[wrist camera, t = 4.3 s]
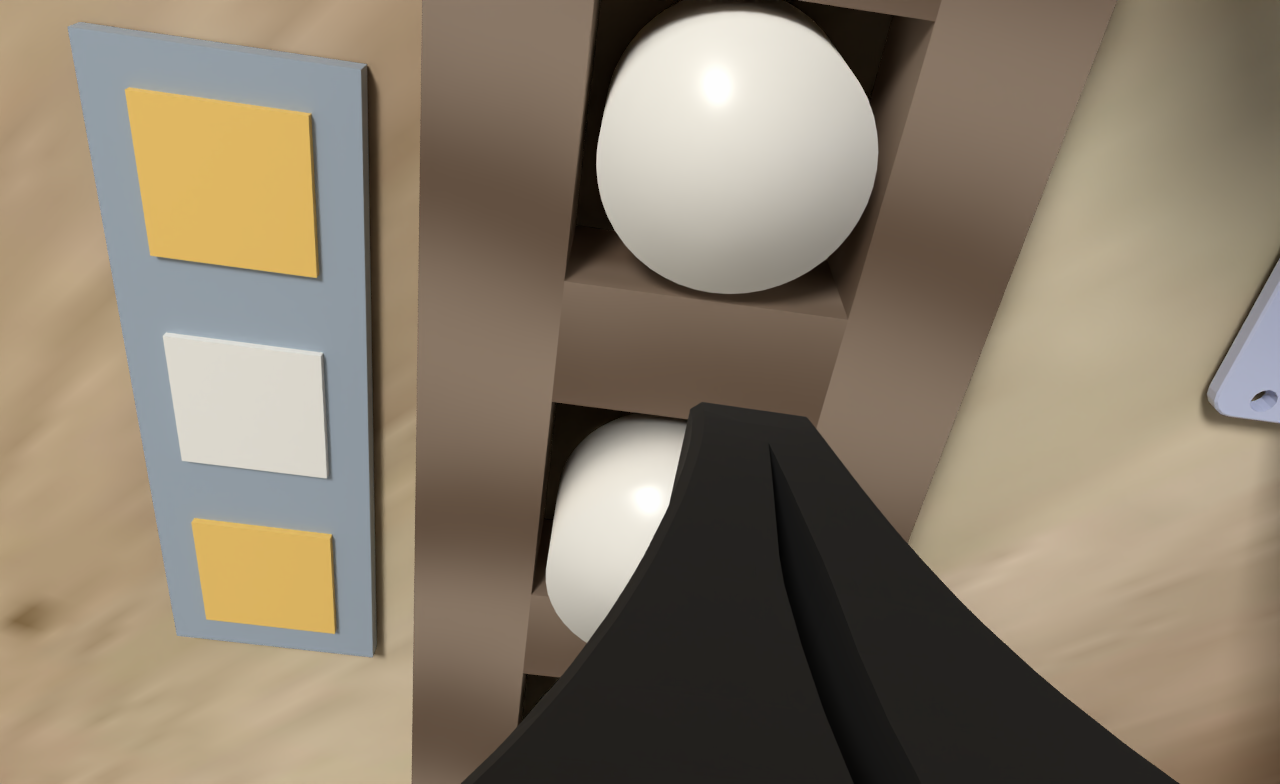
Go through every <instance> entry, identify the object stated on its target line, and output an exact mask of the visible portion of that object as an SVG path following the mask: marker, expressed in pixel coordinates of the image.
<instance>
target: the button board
mask: <svg viewBox="0 0 1280 784" xmlns="http://www.w3.org/2000/svg"><path fill="white" fill-rule="evenodd" d="M800 1H806V2H813V3H819V4H826V5H832V6H839V7H845V8H852V9H858V10H865V11H871V12H878V13H884V14H891V15H893V17H892V21H891V25H890V28H889V32H888V36H887V40H886V43H885V47H884V51H883V54H882V58H881V62H880V66H879V69H878V73H877V77H876V81H875V84H874V88H873V92H872V95H871V99H870V103H869V104H870V106H871V109H872V112H873V115H874V120H875V125H876V130H877V137H878V162H877V172H876V176H875V181H874V186H873V189H872V192H871V195H870V198H869V200H868V203H867V206H866V207H865V209H864V211H863V213H862V215H861V217H860V219H859V221H858V223H857V224H856V226H855V227H854V229H853V230H852V232H851V233H850V235H849V236H848V237H847V238H846V239H845V240H844V242H843V243H842V244H841V245H840V246H839V247H838V249H836V250H835V251H834V252H833V253H832V254H831V255H830V256H829V257H828V259H827V260H824V261H823V262H822V263H820V264H819V265H817V266H816V267H815V268H813V269H812V270H810V271H809V272H807V273H805V274H803V275H802V276H800V277H798V278H796V279H794V280H792V281H789V282H787V283H784V284H782V285H780V286H776V287H773V288H769V289H766V290H762V291H756V292H750V293H739V294H722V293H710V292H705V291H700V290H695V289H692V288H689V287H686V286H683V285H680V284H677V283H675V282H673V281H671V280H669V279H667V278H664V277H663V276H661V275H660V274H658V273H656V272H655V271H653V270H652V269H650V268H649V267H648V266H646V265H645V264H644V263H643V262H641V261H640V260H639V259H638V258H637V257H636V256H635V255H634V254H633V253H632V252H631V251H630V250H629V249H628V248H627V247H626V246H625V244H624V243H623V241H622V240H621V239H620V237H619V236H618V234H617V233H616V232H615V231H612V230H604V229H597V228H590V227H583V226H576V220H577V211H578V202H579V192H580V183H581V174H582V165H583V156H584V147H585V137H586V128H587V119H588V110H589V101H590V92H591V83H592V73H593V64H594V55H595V46H596V37H597V28H598V18H599V9H600V0H422V55H421V130H420V204H419V278H418V353H417V427H416V501H415V576H414V650H413V724H412V784H461V783H462V782H463V781H464V780H465V779H466V778H467V777H468V776H469V775H470V774H471V773H472V772H473V771H474V770H475V769H476V768H477V767H478V766H479V765H481V764H482V763H483V762H484V761H485V760H486V759H487V758H488V757H489V756H490V755H491V754H492V753H493V752H494V751H495V750H496V749H497V748H498V747H499V746H500V745H501V744H502V743H503V742H504V741H505V740H506V738H507V737H508V736H509V735H510V734H511V733H512V732H513V731H514V730H515V729H516V727H517V726H518V725H519V724H520V723H521V722H522V714H523V705H524V696H525V687H526V678H527V674H533V675H542V676H551V677H561V676H562V675H563V674H564V672H565V671H566V670H567V669H568V667H569V666H570V665H571V663H572V662H573V661H574V660H575V658H576V657H577V656H578V654H579V653H580V652H581V650H582V649H583V648H584V646H585V645H586V644H587V643H586V642H585V641H583V640H582V639H580V638H579V637H578V636H577V635H575V634H574V633H573V632H572V631H571V630H570V629H569V628H568V627H567V626H566V625H565V624H564V623H563V622H562V620H561V619H560V617H559V616H558V615H557V613H556V611H555V609H554V608H553V606H552V604H551V601H550V598H549V595H548V592H547V586H546V566H547V559H548V553H549V546H550V540H551V533H552V527H553V520H546V519H544V513H545V504H546V494H547V485H548V476H549V467H550V458H551V449H552V440H553V430H554V421H555V412H556V403H565V404H573V405H581V406H588V407H596V408H604V409H612V410H620V411H627V412H635V413H643V414H651V415H659V416H666V417H674V418H682V419H688V417H689V412H690V409H691V408H693V407H694V406H696V405H698V404H699V403H701V402H706V403H713V404H720V405H727V406H734V407H741V408H748V409H755V410H762V411H769V412H776V413H783V414H790V415H797V416H804V417H807V418H808V419H809V420H810V422H811V423H812V424H813V425H814V426H815V428H816V429H817V430H818V432H819V433H820V434H821V435H822V437H823V438H824V439H825V441H826V442H827V443H828V445H829V446H830V447H831V449H832V450H833V451H834V453H835V454H836V455H837V457H838V458H839V459H840V460H841V462H842V463H843V464H844V466H845V467H846V468H847V470H848V471H849V472H850V473H851V475H852V476H853V477H854V479H855V480H856V481H857V483H858V484H859V485H860V486H861V488H862V489H863V490H864V491H865V493H866V494H867V495H868V496H869V498H870V499H871V500H872V502H873V503H874V504H875V505H876V506H877V508H878V509H879V510H880V511H881V513H882V514H883V515H884V516H885V517H886V519H887V520H888V521H889V522H890V524H891V525H892V526H893V527H894V528H895V529H896V531H897V532H898V533H899V534H900V535H901V537H902V538H903V539H904V540H905V541H906V542H907V543H908V540H909V537H910V535H911V532H912V530H913V527H914V525H915V522H916V519H917V517H918V514H919V512H920V509H921V506H922V504H923V501H924V499H925V496H926V494H927V491H928V488H929V486H930V483H931V481H932V478H933V475H934V473H935V470H936V468H937V465H938V463H939V460H940V457H941V455H942V452H943V450H944V447H945V444H946V442H947V439H948V437H949V434H950V432H951V429H952V426H953V424H954V421H955V419H956V416H957V413H958V411H959V408H960V406H961V403H962V401H963V398H964V395H965V393H966V390H967V388H968V385H969V382H970V380H971V377H972V375H973V372H974V370H975V367H976V364H977V362H978V359H979V357H980V354H981V351H982V349H983V346H984V344H985V341H986V339H987V336H988V333H989V331H990V328H991V326H992V323H993V320H994V318H995V315H996V313H997V310H998V308H999V305H1000V302H1001V300H1002V297H1003V295H1004V292H1005V289H1006V287H1007V284H1008V282H1009V279H1010V277H1011V274H1012V271H1013V269H1014V266H1015V264H1016V261H1017V258H1018V256H1019V253H1020V251H1021V248H1022V246H1023V243H1024V240H1025V238H1026V235H1027V233H1028V230H1029V227H1030V225H1031V222H1032V220H1033V217H1034V215H1035V212H1036V209H1037V207H1038V204H1039V202H1040V199H1041V196H1042V194H1043V191H1044V189H1045V186H1046V184H1047V181H1048V178H1049V176H1050V173H1051V171H1052V168H1053V165H1054V163H1055V160H1056V158H1057V155H1058V153H1059V150H1060V147H1061V145H1062V142H1063V140H1064V137H1065V134H1066V132H1067V129H1068V127H1069V124H1070V121H1071V119H1072V116H1073V114H1074V111H1075V109H1076V106H1077V103H1078V101H1079V98H1080V96H1081V93H1082V90H1083V88H1084V85H1085V83H1086V80H1087V78H1088V75H1089V72H1090V70H1091V67H1092V65H1093V62H1094V59H1095V57H1096V54H1097V52H1098V49H1099V47H1100V44H1101V41H1102V39H1103V36H1104V34H1105V31H1106V28H1107V26H1108V23H1109V21H1110V18H1111V16H1112V13H1113V10H1114V8H1115V5H1116V3H1117V0H800Z"/></svg>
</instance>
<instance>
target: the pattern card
mask: <svg viewBox="0 0 1280 784" xmlns="http://www.w3.org/2000/svg"><path fill="white" fill-rule="evenodd" d="M68 32H69V37H70V43H71V48H72V54H73V60H74V65H75V71H76V76H77V82H78V87H79V93H80V99H81V104H82V110H83V115H84V121H85V126H86V132H87V138H88V143H89V149H90V154H91V160H92V165H93V171H94V176H95V182H96V188H97V193H98V199H99V204H100V210H101V215H102V221H103V227H104V232H105V238H106V243H107V249H108V254H109V260H110V266H111V271H112V277H113V282H114V288H115V293H116V299H117V304H118V310H119V316H120V321H121V327H122V332H123V338H124V343H125V349H126V355H127V360H128V366H129V371H130V377H131V382H132V388H133V394H134V399H135V405H136V410H137V416H138V421H139V427H140V432H141V438H142V444H143V449H144V455H145V460H146V466H147V471H148V477H149V483H150V488H151V494H152V499H153V505H154V510H155V516H156V522H157V527H158V533H159V538H160V544H161V549H162V555H163V560H164V566H165V572H166V577H167V583H168V588H169V594H170V599H171V605H172V611H173V616H174V622H175V627H176V633H177V636H185V637H194V638H203V639H212V640H221V641H230V642H239V643H248V644H257V645H266V646H275V647H284V648H293V649H302V650H311V651H320V652H329V653H338V654H347V655H355V656H364V657H373V655H374V652H375V649H376V647H377V628H376V569H375V509H374V450H373V390H372V331H371V271H370V211H369V152H368V92H367V64H363V63H356V62H349V61H342V60H335V59H329V58H322V57H315V56H308V55H301V54H294V53H288V52H281V51H274V50H267V49H260V48H254V47H247V46H240V45H233V44H226V43H219V42H213V41H206V40H199V39H192V38H185V37H179V36H172V35H165V34H158V33H151V32H145V31H138V30H131V29H124V28H117V27H110V26H104V25H97V24H90V23H83V22H79V23H76V24H73V25H71V26H68Z"/></svg>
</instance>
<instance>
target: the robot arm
mask: <svg viewBox="0 0 1280 784" xmlns="http://www.w3.org/2000/svg"><path fill="white" fill-rule="evenodd" d="M1262 391H1266V393H1265V394H1264V395H1263V396H1262V397H1261V398H1259V399H1257V400H1255V401H1251V400H1252V398H1253V397H1254V396H1255V395H1256V394H1258V393H1260V392H1262ZM1207 397H1208V401H1209V402H1210V403H1211V404H1212V406H1213V407H1214V408H1215V409H1216V410H1217V411H1218V412H1219V413H1220V414H1222V415H1225V416H1228V417H1235V418H1242V419H1250V420H1258V421H1265V422H1273V423H1280V259H1279V260H1278V262H1277V264H1276V266H1275V268H1274V269H1273V271H1272V273H1271V275H1270V277H1269V279H1268V280H1267V282H1266V284H1265V286H1264V288H1263V289H1262V291H1261V293H1260V295H1259V297H1258V299H1257V300H1256V302H1255V304H1254V306H1253V308H1252V309H1251V311H1250V313H1249V315H1248V317H1247V319H1246V320H1245V322H1244V324H1243V326H1242V328H1241V329H1240V331H1239V333H1238V335H1237V337H1236V339H1235V340H1234V342H1233V344H1232V346H1231V348H1230V349H1229V351H1228V353H1227V355H1226V357H1225V358H1224V360H1223V362H1222V364H1221V366H1220V368H1219V369H1218V371H1217V373H1216V375H1215V377H1214V378H1213V380H1212V382H1211V384H1210V386H1209V389H1208V392H1207ZM461 784H1179V783H1178V782H1176V781H1175V780H1174V779H1172V778H1171V777H1169V776H1168V775H1167V774H1165V773H1164V772H1163V771H1161V770H1160V769H1158V768H1157V767H1156V766H1154V765H1153V764H1152V763H1150V762H1149V761H1147V760H1146V759H1145V758H1143V757H1142V756H1141V755H1139V754H1138V753H1137V752H1135V751H1134V750H1132V749H1131V748H1130V747H1128V746H1127V745H1126V744H1124V743H1123V742H1122V741H1121V740H1119V739H1118V738H1117V737H1115V736H1114V735H1113V734H1112V733H1110V732H1109V731H1108V730H1107V729H1105V728H1104V727H1103V726H1102V725H1100V724H1099V723H1098V722H1097V721H1095V720H1094V719H1093V718H1091V717H1090V716H1089V715H1088V714H1086V713H1085V712H1084V711H1083V710H1081V709H1080V708H1079V707H1078V706H1076V705H1075V704H1074V703H1072V702H1071V701H1070V700H1069V699H1067V698H1066V697H1065V696H1064V695H1063V694H1061V693H1060V692H1059V691H1058V690H1057V689H1055V688H1054V687H1053V686H1052V685H1051V684H1050V683H1048V682H1047V681H1046V680H1045V679H1044V678H1042V677H1041V676H1040V675H1039V674H1038V673H1037V672H1035V671H1034V670H1033V669H1032V668H1031V667H1030V666H1029V665H1028V664H1027V663H1025V662H1024V661H1023V660H1022V659H1021V658H1020V657H1019V656H1018V655H1017V654H1016V653H1015V652H1013V651H1012V650H1011V649H1010V648H1009V647H1008V646H1007V645H1006V644H1005V643H1004V642H1003V641H1001V640H1000V639H999V638H998V637H997V636H996V635H995V634H994V633H993V632H992V631H991V630H990V629H988V628H987V627H986V626H985V625H984V624H983V623H982V622H981V621H980V620H979V619H978V618H977V617H976V616H975V615H974V614H973V613H972V612H971V611H970V610H969V609H968V608H967V607H966V606H965V605H964V604H963V603H962V602H961V601H960V600H959V599H958V598H957V597H956V596H955V595H954V594H953V593H952V592H951V591H950V589H949V588H948V587H947V586H946V585H945V584H944V583H943V582H942V581H941V580H940V579H939V578H938V577H937V576H936V574H935V573H934V572H933V571H932V570H931V569H930V568H929V567H928V566H927V565H926V564H925V563H924V562H923V561H922V559H921V558H920V557H919V556H918V555H917V554H916V553H915V551H914V550H913V549H912V548H911V547H910V546H909V545H908V543H907V542H906V541H905V540H904V539H903V538H902V537H901V535H900V534H899V533H898V532H897V531H896V529H895V528H894V527H893V526H892V525H891V524H890V522H889V521H888V520H887V519H886V517H885V516H884V515H883V514H882V513H881V511H880V510H879V509H878V508H877V506H876V505H875V504H874V503H873V502H872V500H871V499H870V498H869V496H868V495H867V494H866V493H865V491H864V490H863V489H862V488H861V486H860V485H859V484H858V483H857V481H856V480H855V479H854V477H853V476H852V475H851V473H850V472H849V471H848V470H847V468H846V467H845V466H844V464H843V463H842V462H841V460H840V459H839V458H838V457H837V455H836V454H835V453H834V451H833V450H832V449H831V447H830V446H829V445H828V443H827V442H826V441H825V439H824V438H823V437H822V435H821V434H820V433H819V432H818V430H817V429H816V428H815V426H814V425H813V424H812V423H811V422H810V420H809V419H808V418H807V417H804V416H797V415H790V414H783V413H776V412H769V411H762V410H755V409H748V408H741V407H734V406H727V405H720V404H713V403H706V402H701V403H699V404H698V405H696V406H694V407H693V408H691V409H690V412H689V417H688V421H687V426H686V430H685V435H684V439H683V444H682V448H681V453H680V457H679V462H678V466H677V471H676V475H675V480H674V484H673V489H672V493H671V498H670V502H669V506H668V508H667V510H666V512H665V515H664V517H663V519H662V521H661V523H660V525H659V526H658V528H657V530H656V532H655V534H654V536H653V538H652V540H651V542H650V544H649V546H648V548H647V550H646V552H645V554H644V556H643V558H642V560H641V561H640V563H639V565H638V567H637V568H636V570H635V572H634V573H633V575H632V577H631V578H630V580H629V582H628V583H627V585H626V587H625V588H624V590H623V591H622V593H621V594H620V596H619V598H618V599H617V601H616V602H615V604H614V605H613V607H612V608H611V610H610V611H609V613H608V614H607V616H606V617H605V619H604V620H603V621H602V623H601V624H600V626H599V627H598V628H597V630H596V631H595V632H594V634H593V635H592V637H591V638H590V639H589V641H588V642H587V644H586V645H585V646H584V648H583V649H582V650H581V652H580V653H579V654H578V656H577V657H576V658H575V660H574V661H573V662H572V663H571V665H570V666H569V667H568V669H567V670H566V671H565V672H564V674H563V675H562V676H561V677H560V678H559V680H558V681H557V682H556V683H555V684H554V685H553V687H552V688H551V689H550V690H549V691H548V692H547V693H546V694H545V696H544V697H543V698H542V699H541V700H540V701H539V702H538V704H537V705H536V706H535V707H534V708H533V709H532V710H531V712H530V713H529V714H528V715H527V716H526V717H525V718H524V720H523V721H522V722H521V723H520V724H519V725H518V726H517V727H516V729H515V730H514V731H513V732H512V733H511V734H510V735H509V736H508V737H507V738H506V740H505V741H504V742H503V743H502V744H501V745H500V746H499V747H498V748H497V749H496V750H495V751H494V752H493V753H492V754H491V755H490V756H489V757H488V758H487V759H486V760H485V761H484V762H483V763H482V764H481V765H479V766H478V767H477V768H476V769H475V770H474V771H473V772H472V773H471V774H470V775H469V776H468V777H467V778H466V779H465V780H464V781H463V782H462V783H461Z"/></svg>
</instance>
